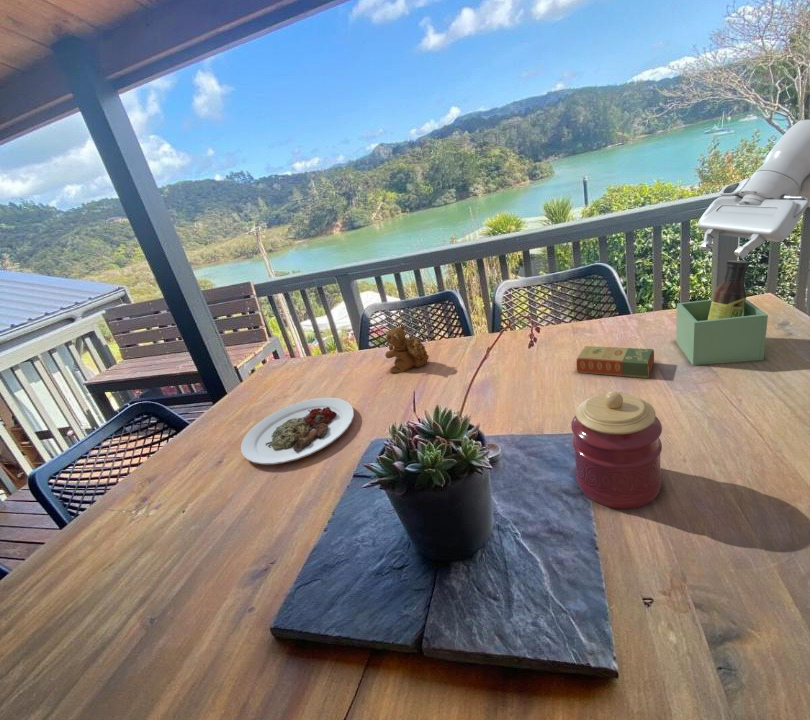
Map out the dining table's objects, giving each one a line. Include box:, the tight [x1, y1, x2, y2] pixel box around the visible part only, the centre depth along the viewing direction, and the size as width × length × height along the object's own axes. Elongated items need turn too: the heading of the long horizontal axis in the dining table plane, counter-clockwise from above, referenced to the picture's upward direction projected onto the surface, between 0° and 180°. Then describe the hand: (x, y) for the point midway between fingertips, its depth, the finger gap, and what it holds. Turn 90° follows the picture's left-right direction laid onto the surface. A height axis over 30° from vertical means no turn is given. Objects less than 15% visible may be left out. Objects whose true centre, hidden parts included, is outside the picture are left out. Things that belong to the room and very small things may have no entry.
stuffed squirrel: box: [384, 325, 430, 374], centre depth 135 cm, size 10×14×13 cm
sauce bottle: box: [708, 259, 750, 320], centre depth 101 cm, size 7×6×20 cm
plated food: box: [240, 397, 355, 465], centre depth 114 cm, size 30×30×3 cm
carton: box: [576, 345, 655, 379], centre depth 107 cm, size 8×16×4 cm, turn 55°
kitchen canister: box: [570, 390, 663, 510], centre depth 70 cm, size 13×13×18 cm
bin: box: [675, 298, 769, 366], centre depth 103 cm, size 14×14×11 cm
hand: (720, 252), depth 95 cm, fingers open, 8 cm apart
